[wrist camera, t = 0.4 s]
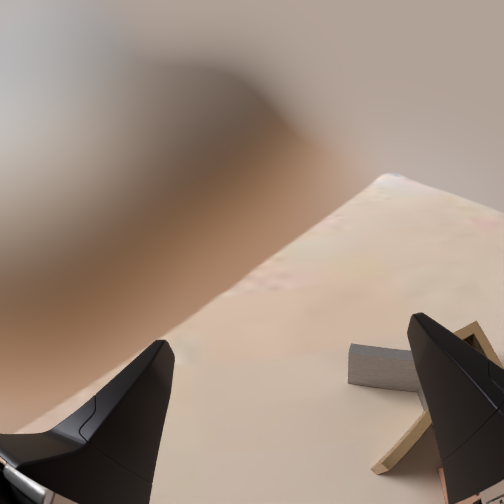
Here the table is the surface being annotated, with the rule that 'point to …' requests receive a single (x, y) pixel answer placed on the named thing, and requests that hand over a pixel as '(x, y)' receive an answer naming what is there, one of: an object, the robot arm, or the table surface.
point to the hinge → (404, 381)
